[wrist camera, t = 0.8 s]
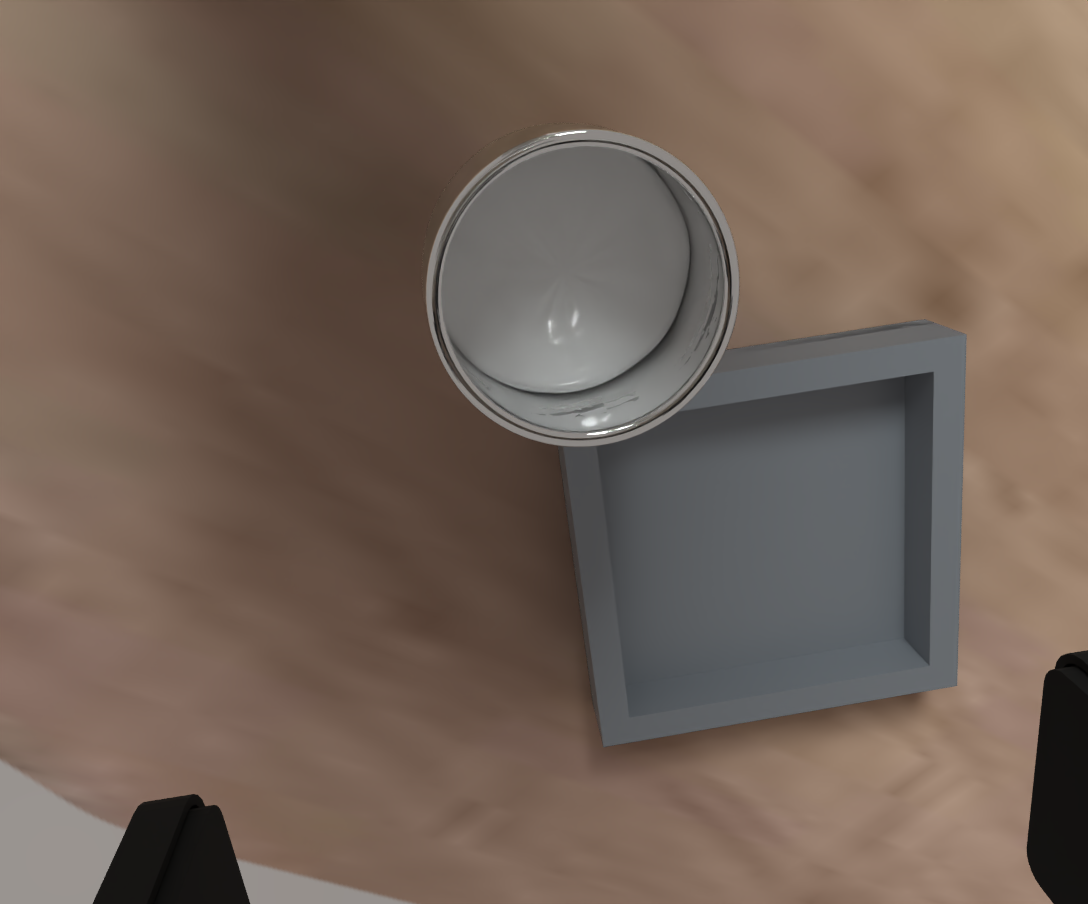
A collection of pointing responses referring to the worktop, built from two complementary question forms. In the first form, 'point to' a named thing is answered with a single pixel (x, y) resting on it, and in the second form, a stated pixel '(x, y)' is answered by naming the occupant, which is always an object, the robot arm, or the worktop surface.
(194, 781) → the worktop surface
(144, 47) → the worktop surface
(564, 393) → the beer glass
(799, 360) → the slate tray
